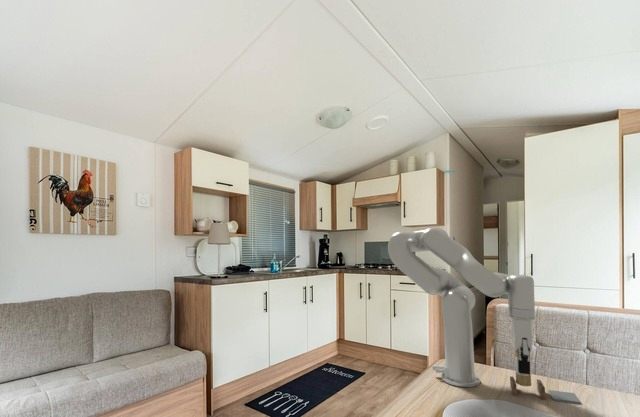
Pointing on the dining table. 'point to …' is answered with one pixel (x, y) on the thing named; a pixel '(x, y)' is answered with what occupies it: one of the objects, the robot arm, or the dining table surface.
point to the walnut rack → (539, 388)
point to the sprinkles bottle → (521, 378)
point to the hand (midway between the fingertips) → (522, 370)
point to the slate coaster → (564, 397)
